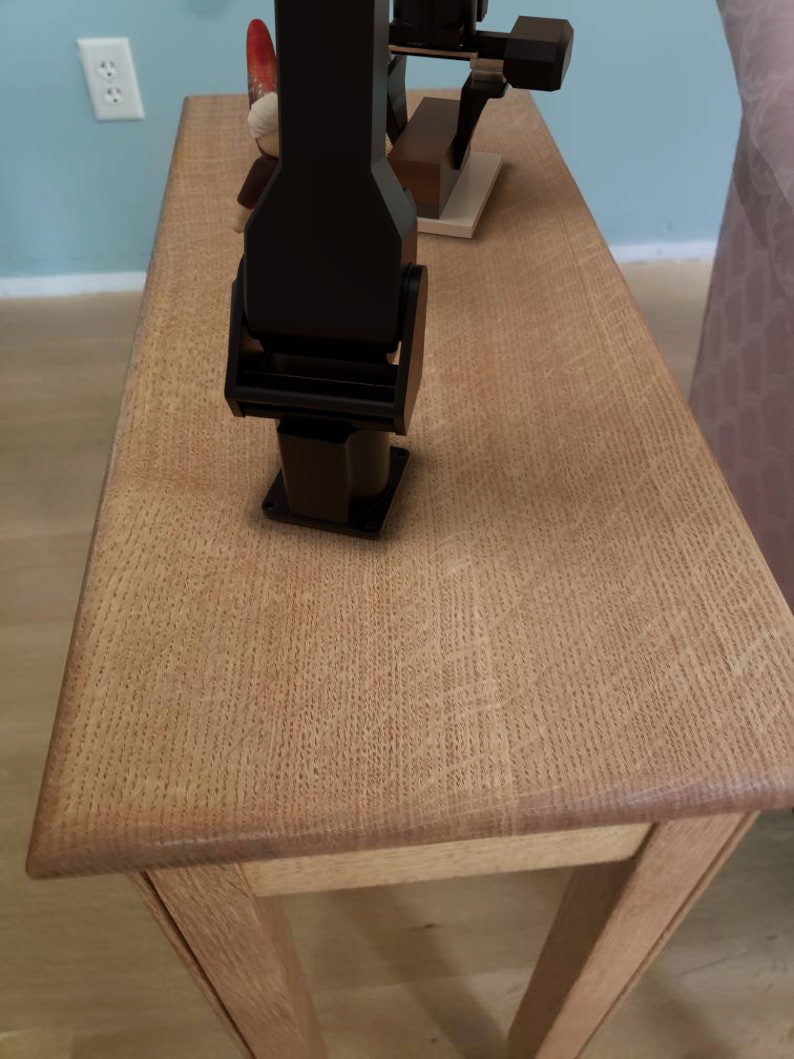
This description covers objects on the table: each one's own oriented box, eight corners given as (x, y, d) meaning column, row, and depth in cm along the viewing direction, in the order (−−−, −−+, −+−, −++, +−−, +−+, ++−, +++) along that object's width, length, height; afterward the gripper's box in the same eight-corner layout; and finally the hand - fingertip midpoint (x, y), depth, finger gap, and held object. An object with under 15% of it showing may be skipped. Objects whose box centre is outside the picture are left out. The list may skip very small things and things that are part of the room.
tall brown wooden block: (438, 219, 63) (440, 163, 60) (386, 213, 64) (385, 157, 61) (470, 154, 70) (473, 101, 67) (423, 149, 71) (423, 96, 68)
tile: (471, 239, 63) (472, 226, 62) (354, 223, 65) (354, 211, 64) (501, 166, 71) (502, 154, 70) (397, 154, 72) (397, 142, 72)
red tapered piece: (286, 134, 75) (272, 7, 68) (306, 237, 64) (292, 96, 56) (253, 137, 75) (236, 9, 67) (267, 241, 63) (248, 100, 56)
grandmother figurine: (278, 320, 56) (252, 124, 47) (236, 300, 58) (203, 107, 49) (352, 269, 61) (341, 79, 51) (311, 252, 62) (293, 65, 53)
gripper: (599, -101, 58) (567, 133, 69) (336, -116, 61) (348, 109, 73) (577, -54, 51) (545, 198, 62) (281, -74, 54) (304, 168, 66)
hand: (431, 164), depth 66 cm, fingers closed on tall brown wooden block, 4 cm apart
